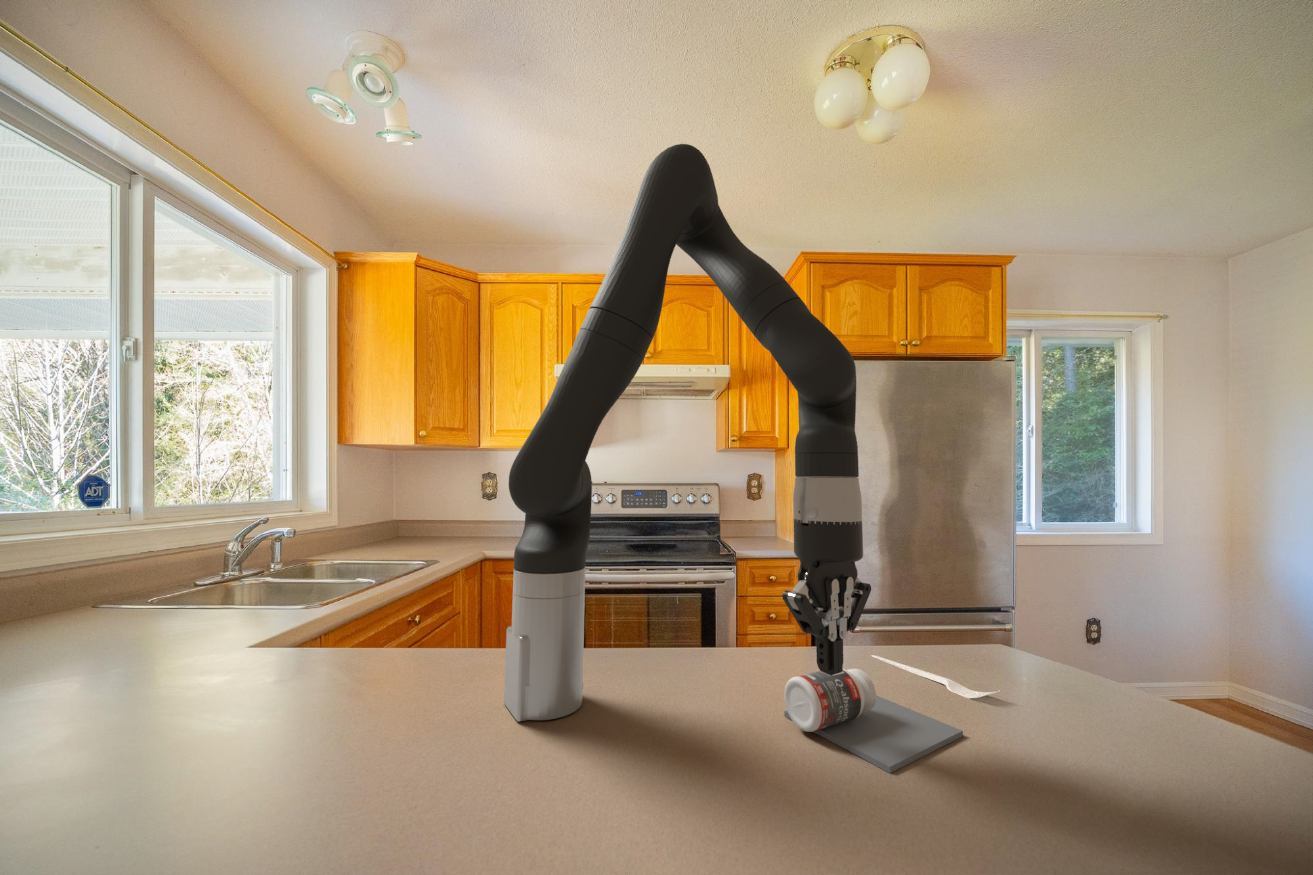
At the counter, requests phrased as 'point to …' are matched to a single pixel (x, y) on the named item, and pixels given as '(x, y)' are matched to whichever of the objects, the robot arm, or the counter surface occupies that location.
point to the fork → (939, 680)
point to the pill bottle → (828, 698)
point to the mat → (890, 735)
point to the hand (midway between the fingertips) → (830, 671)
